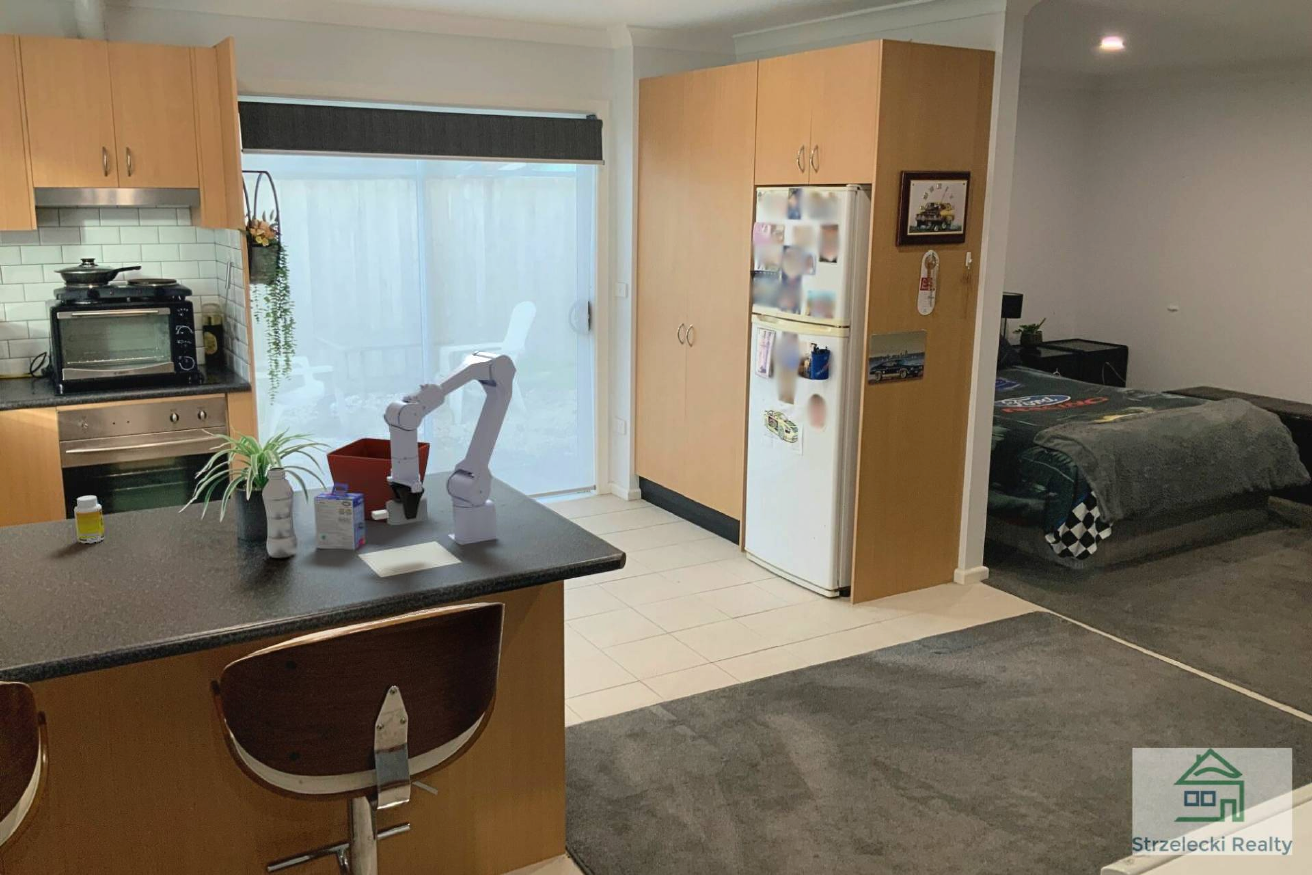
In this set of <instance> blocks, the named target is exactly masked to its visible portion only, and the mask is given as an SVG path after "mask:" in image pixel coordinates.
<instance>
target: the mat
mask: <svg viewBox="0 0 1312 875" xmlns="http://www.w3.org/2000/svg"><path fill="white" fill-rule="evenodd" d="M357 555H358V557H359V558H360V559H361V560H362V561H363V562H364V563H365V564H366V565H368V567H370V568H371V570H372V571H374V573H375V574H376V575H378V577H380V578H386V577H391V576H396V575H397V576H398V575H401V574H408V573H412V572H418V571H425V570H429V569H434V568H439V567H445V566H451V565H455V564H461V563H463V561H461V560H460V559H459V558H457V557H456V556H455V555H454V554H453V553H451V552H450V551H448V549H446V548H445V547H444V546H443V545H441V544H440V543H438V542H437V541H436V540H434V541H429V542H423V543H418V544H411V545H407V546H401V547H395V548H390V549H384V550H378V551H373V552H367V553H360V554H357Z"/></svg>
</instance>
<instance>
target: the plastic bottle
mask: <svg viewBox="0 0 1312 875" xmlns="http://www.w3.org/2000/svg"><path fill="white" fill-rule="evenodd" d="M286 477H287V473H286V468H285V467H283V466H277V467H276V466H275V467H274V466H273V467H270V468H268V469H267V479H268V481H267V482H266V484H265V486H264V487H263V489H262V493H261V495H262V500H263V504H264V508H265V513H266V522H267V538H266V550H267V553H268V555H269V556H270V557H271V558H274V559H284V558H288V557H292V556H294V555H296V553H297V551H298V547H299V542H298V537H297V534H296V531H295V530H296V529H295V525H294V516H293V514H294V513H293V512H294V510H293V508H294V507H293V506H294V490H293V487H292V485H291V484H290V483H289V482H288V481H287V479H286Z"/></svg>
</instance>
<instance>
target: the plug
mask: <svg viewBox="0 0 1312 875" xmlns="http://www.w3.org/2000/svg"><path fill="white" fill-rule="evenodd" d="M427 498H428V497H426V496H422V497H421V499H420V502H419V506H418V512H417V516H416V518H415V519H409V520H407V519H406V517H405V514H404V508H403V503H402V500H401V499H397V500H390V501H388V502H386V510H387V511H386V510H379V511H373V512H372V517H373V518H374V519H375V520H374V521H379V520H378V519H384V518H387V521H386V523H387V524H388V525H390V526H397V525H399V526H400V525H404V524H405V525H406V524H410V523H411V524H412V523H416V522H417V523H419V522H423V521H426V520H428V518H429V516H428V514H429V512H428V499H427Z"/></svg>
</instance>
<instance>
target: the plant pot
mask: <svg viewBox="0 0 1312 875" xmlns="http://www.w3.org/2000/svg"><path fill="white" fill-rule="evenodd" d="M430 447H431V444H430V442H424V441H423V442H422V441H418V462H419V474H420V482H421V483H422V486H423V484H424V480H425V477H426V473H427V468H428V461H429V455H430ZM326 459H327V464H328V469H329V472H330V476H331V479H332V482H333V484H334V483H339V484H348V490H347V493H353V494H363V501H364V520H370V521H371V520H372V521H376V520H375V519H374V518H373V517H372V512H373V511H379V510H386V502H388V501H390V500H395V498H394V495H393V493H392V490H391V489H390V487H389V485H388V483H390V482H389V481H387V477H390V476H391V469H392V461H391V442H390V439H387V438H372V437H363V438H358V439H357V440H355V441H353V442H350V443H348V444H346V445H343V446H341V447H339V448H337V449H335V450H332V451H330V452H328V453H326ZM335 490H343V491H344V490H345V488H343V487H336V488H335ZM386 511H387V510H386ZM377 521H379V522H381V521H382V522H387V518H384V519H378V520H377Z"/></svg>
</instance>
